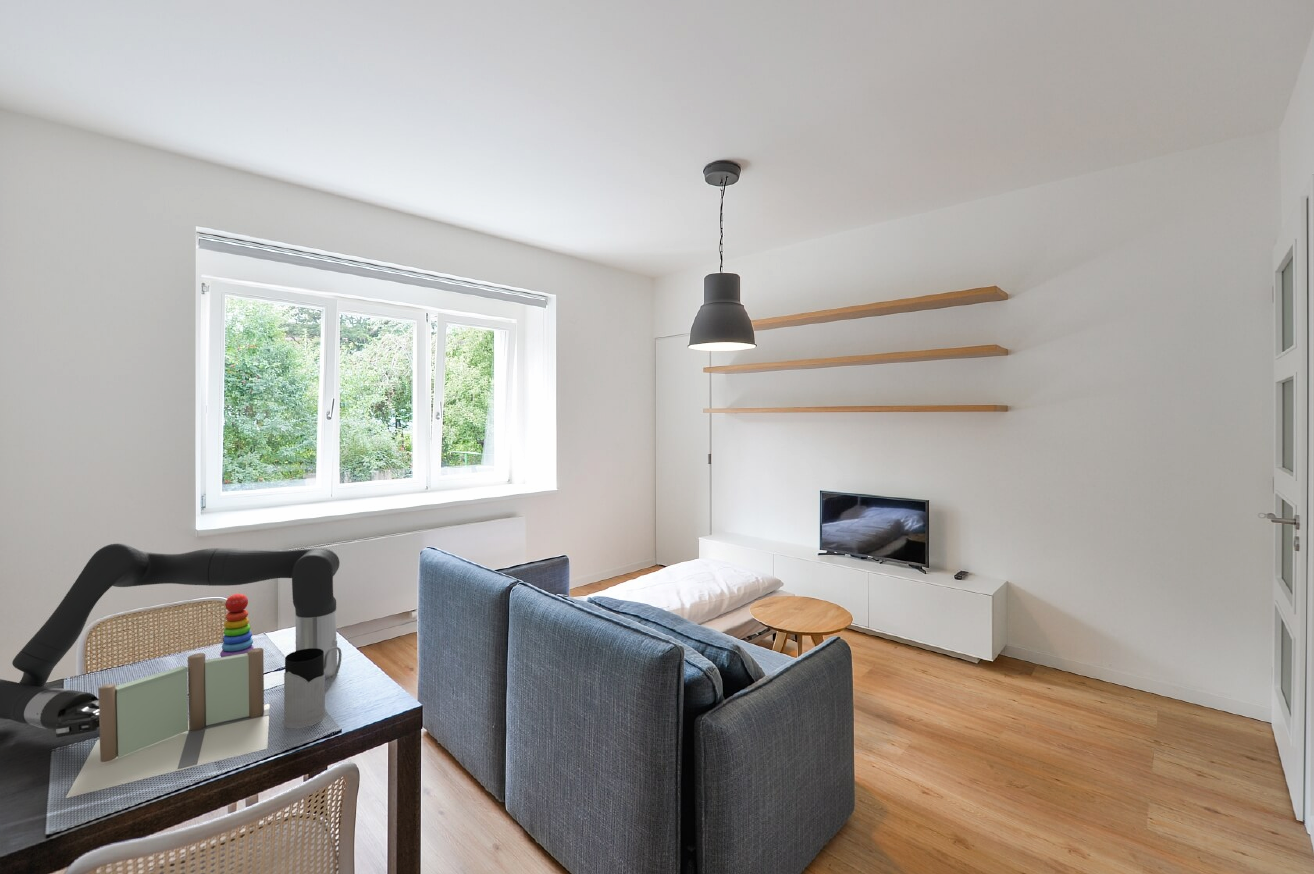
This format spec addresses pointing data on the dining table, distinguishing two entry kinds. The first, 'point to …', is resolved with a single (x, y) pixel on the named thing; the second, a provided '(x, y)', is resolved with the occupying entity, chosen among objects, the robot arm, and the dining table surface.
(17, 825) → the dining table surface
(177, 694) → the fence panel
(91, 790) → the card
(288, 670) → the grey and black mug
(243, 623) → the stacking toy
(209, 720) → the fixed fence
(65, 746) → the dining table surface
